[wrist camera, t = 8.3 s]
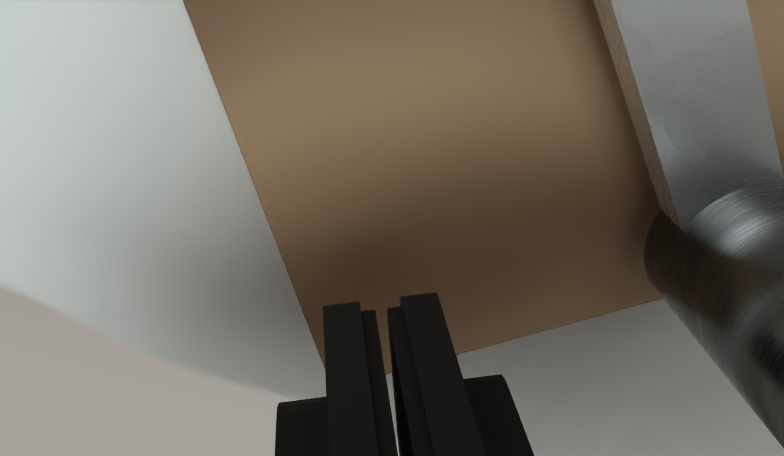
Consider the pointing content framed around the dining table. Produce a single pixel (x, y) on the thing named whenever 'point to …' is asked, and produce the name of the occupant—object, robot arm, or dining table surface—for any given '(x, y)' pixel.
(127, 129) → the dining table surface
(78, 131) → the dining table surface
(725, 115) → the lever
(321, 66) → the board
